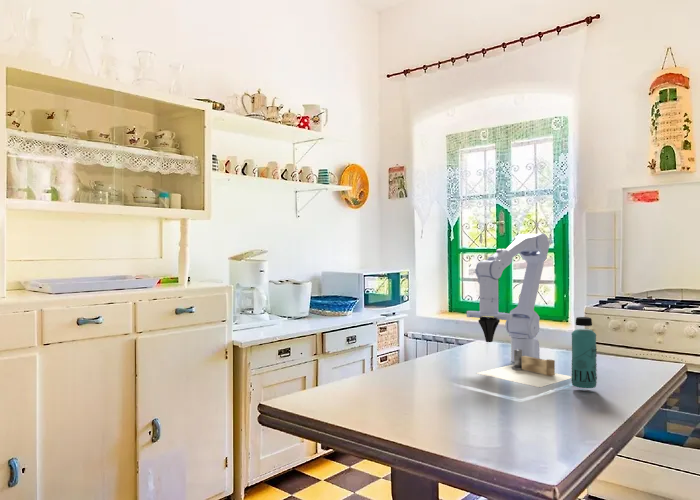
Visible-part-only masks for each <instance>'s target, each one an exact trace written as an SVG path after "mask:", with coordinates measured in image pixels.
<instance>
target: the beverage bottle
mask: <svg viewBox="0 0 700 500" xmlns="http://www.w3.org/2000/svg"><path fill="white" fill-rule="evenodd" d="M592 321H593V320H592V317H587V316H578V317H576V318H575V325H576V326H579V327H589V326H590V327H591V326H593V322H592ZM597 350H598V348H597V333H596V332H595V331H594V330H592V329H588V328H576V329H574V330H573V331H572V332H571V372H570V374H571V376H572V378H571V379H570V380H571V384H572V386H573V387H576V388H580V389H594V388H596V387H597V384H598V382H597V380H598V376H597V367H598V366H597V355H598V354H597V353H598V352H597Z"/></svg>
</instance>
